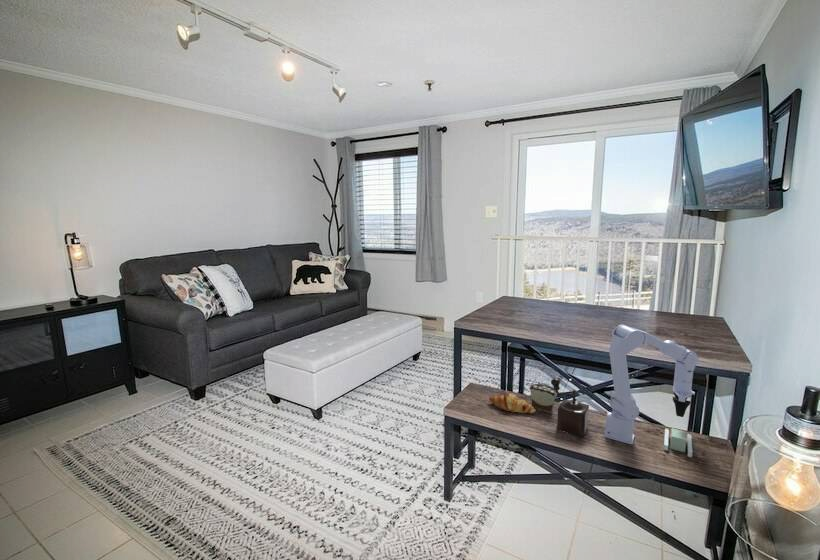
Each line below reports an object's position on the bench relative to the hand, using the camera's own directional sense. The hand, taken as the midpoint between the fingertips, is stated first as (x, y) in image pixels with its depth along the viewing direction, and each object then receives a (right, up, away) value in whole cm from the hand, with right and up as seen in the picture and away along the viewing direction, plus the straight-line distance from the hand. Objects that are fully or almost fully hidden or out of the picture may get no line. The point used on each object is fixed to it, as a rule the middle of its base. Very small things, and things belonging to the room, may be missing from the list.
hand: (679, 412), depth 151 cm
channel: (-5, -10, -6) cm, 13 cm away
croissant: (-60, -7, +23) cm, 65 cm away
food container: (-45, -6, +24) cm, 51 cm away
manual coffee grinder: (-41, -9, +8) cm, 43 cm away
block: (-5, -11, -6) cm, 14 cm away
